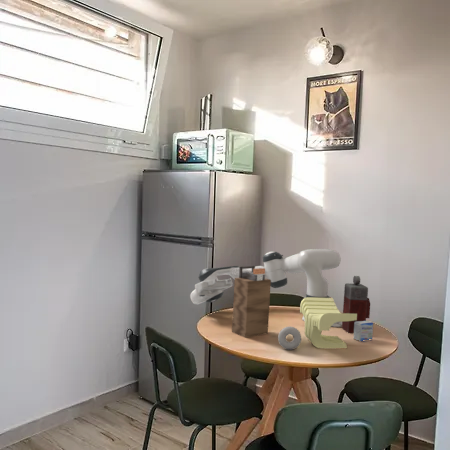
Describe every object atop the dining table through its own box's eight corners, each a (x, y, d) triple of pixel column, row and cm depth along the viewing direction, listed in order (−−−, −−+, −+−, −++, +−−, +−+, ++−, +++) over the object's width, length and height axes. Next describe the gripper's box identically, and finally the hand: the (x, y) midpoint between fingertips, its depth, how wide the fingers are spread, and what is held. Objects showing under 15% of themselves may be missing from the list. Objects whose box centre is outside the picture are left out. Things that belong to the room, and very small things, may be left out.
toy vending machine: (369, 333, 223) (373, 278, 221) (347, 333, 222) (351, 277, 220) (362, 328, 232) (366, 274, 230) (341, 328, 231) (345, 274, 229)
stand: (231, 331, 214) (235, 266, 212) (254, 328, 222) (257, 265, 220) (245, 337, 206) (248, 270, 204) (267, 333, 214) (271, 268, 212)
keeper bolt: (228, 273, 223) (229, 263, 222) (238, 273, 226) (238, 262, 226) (254, 280, 207) (255, 269, 206) (264, 280, 210) (265, 268, 210)
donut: (300, 348, 194) (301, 326, 193) (301, 351, 190) (302, 328, 190) (276, 347, 194) (278, 324, 193) (277, 350, 190) (279, 327, 190)
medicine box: (359, 342, 208) (361, 323, 208) (353, 339, 212) (354, 321, 212) (372, 340, 212) (373, 322, 211) (365, 337, 216) (366, 319, 215)
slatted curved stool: (298, 333, 217) (300, 297, 216) (330, 334, 219) (332, 298, 218) (317, 354, 187) (320, 312, 186) (354, 355, 189) (357, 313, 188)
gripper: (226, 293, 246) (240, 284, 236) (194, 296, 234) (208, 287, 224) (223, 282, 248) (237, 273, 239) (192, 284, 236) (205, 275, 226)
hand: (223, 280), depth 231 cm, fingers open, 8 cm apart
